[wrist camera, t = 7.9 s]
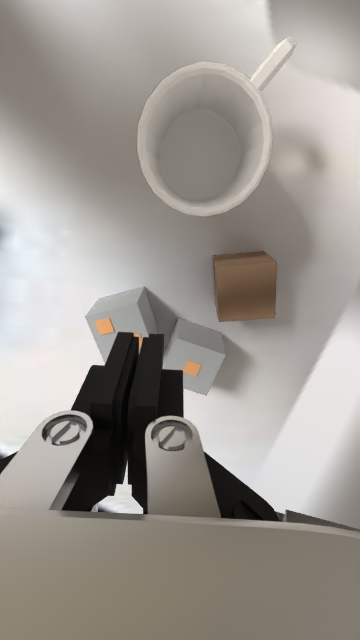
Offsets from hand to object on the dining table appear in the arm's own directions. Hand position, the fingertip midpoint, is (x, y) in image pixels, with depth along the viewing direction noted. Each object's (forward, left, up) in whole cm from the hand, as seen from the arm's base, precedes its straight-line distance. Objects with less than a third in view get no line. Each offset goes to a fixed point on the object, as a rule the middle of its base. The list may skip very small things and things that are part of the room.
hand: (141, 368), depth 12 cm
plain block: (+2, +7, -21) cm, 23 cm away
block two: (+7, -4, -21) cm, 23 cm away
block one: (+10, +3, -21) cm, 24 cm away
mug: (-10, +3, -22) cm, 24 cm away
